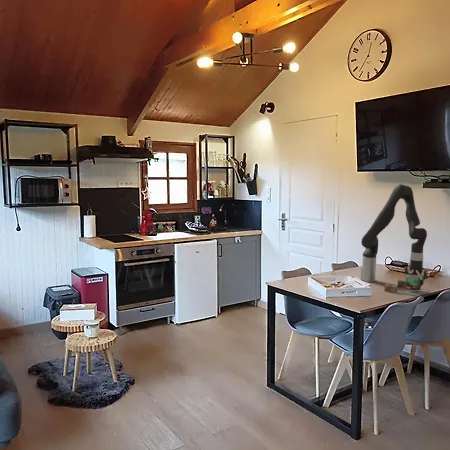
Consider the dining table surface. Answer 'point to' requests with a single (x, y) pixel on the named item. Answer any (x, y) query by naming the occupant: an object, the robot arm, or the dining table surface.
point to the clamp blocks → (394, 288)
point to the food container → (412, 282)
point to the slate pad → (414, 292)
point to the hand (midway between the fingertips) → (415, 284)
